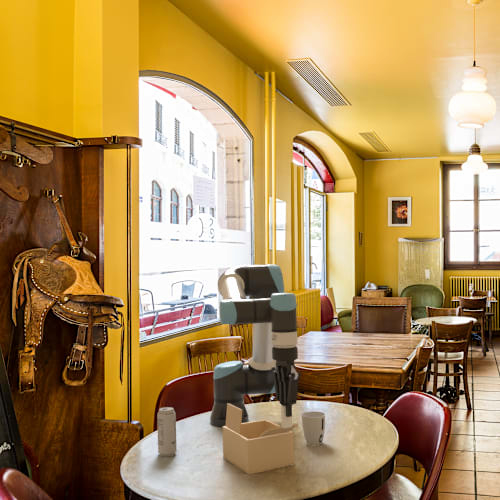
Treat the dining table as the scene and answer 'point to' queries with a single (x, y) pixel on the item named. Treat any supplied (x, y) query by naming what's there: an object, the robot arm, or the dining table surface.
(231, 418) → the side flap
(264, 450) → the carton
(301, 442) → the dining table surface
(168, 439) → the energy drink can
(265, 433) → the front flap
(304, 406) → the dining table surface
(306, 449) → the dining table surface
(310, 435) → the cup
